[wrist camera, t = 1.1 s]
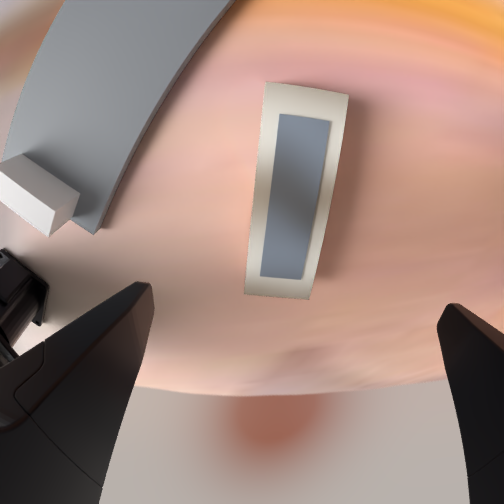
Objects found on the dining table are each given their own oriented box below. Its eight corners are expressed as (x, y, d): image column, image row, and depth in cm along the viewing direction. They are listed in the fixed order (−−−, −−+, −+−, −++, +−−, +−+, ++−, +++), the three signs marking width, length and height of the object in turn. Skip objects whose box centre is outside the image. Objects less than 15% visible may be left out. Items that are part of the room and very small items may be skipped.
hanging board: (99, 228, 19) (72, 257, 16) (8, 164, 17) (-26, 181, 13) (255, -21, 11) (252, -50, 8) (125, -66, 9) (99, -89, 5)
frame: (303, 272, 21) (309, 301, 18) (246, 267, 21) (243, 295, 18) (334, 94, 15) (349, 94, 12) (264, 84, 15) (265, 81, 12)
